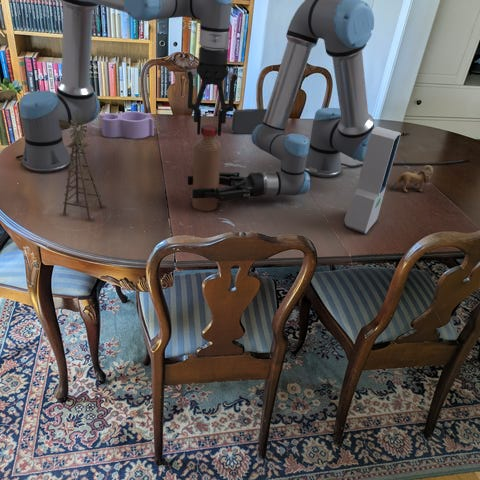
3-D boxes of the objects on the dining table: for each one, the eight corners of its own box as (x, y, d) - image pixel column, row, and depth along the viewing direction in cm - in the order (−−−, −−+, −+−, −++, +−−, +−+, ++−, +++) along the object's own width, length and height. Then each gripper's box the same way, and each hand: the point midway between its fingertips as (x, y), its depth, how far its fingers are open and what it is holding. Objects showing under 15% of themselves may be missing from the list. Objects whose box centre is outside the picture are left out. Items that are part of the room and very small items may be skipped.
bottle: (202, 213, 141) (207, 136, 128) (186, 202, 146) (189, 127, 133) (222, 206, 146) (228, 131, 133) (206, 196, 151) (211, 122, 137)
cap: (201, 130, 135) (201, 124, 134) (216, 131, 135) (217, 125, 134) (200, 135, 131) (201, 129, 130) (216, 137, 132) (217, 130, 131)
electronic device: (365, 235, 139) (392, 139, 122) (341, 227, 142) (364, 132, 125) (378, 219, 148) (404, 128, 131) (355, 211, 151) (379, 121, 134)
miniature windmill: (89, 220, 131) (79, 116, 115) (61, 215, 132) (47, 111, 116) (103, 206, 139) (96, 106, 123) (77, 201, 140) (66, 101, 124)
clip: (103, 139, 182) (102, 122, 178) (101, 128, 192) (100, 111, 188) (155, 138, 188) (155, 121, 184) (150, 127, 198) (149, 111, 194)
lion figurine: (421, 184, 174) (428, 162, 169) (430, 191, 169) (438, 168, 165) (388, 187, 169) (395, 164, 164) (397, 194, 165) (404, 171, 160)
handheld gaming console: (279, 130, 209) (282, 108, 204) (281, 132, 207) (285, 110, 202) (230, 131, 202) (232, 109, 197) (232, 134, 200) (234, 111, 195)
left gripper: (178, 47, 116) (176, 136, 129) (250, 53, 119) (241, 140, 132) (178, 41, 123) (176, 127, 135) (246, 47, 125) (239, 130, 138)
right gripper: (270, 211, 141) (196, 215, 135) (251, 180, 158) (184, 182, 152) (273, 188, 137) (197, 191, 131) (253, 160, 154) (185, 161, 148)
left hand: (208, 133), depth 133 cm, fingers open, 5 cm apart
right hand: (190, 187), depth 141 cm, fingers closed on bottle, 8 cm apart
